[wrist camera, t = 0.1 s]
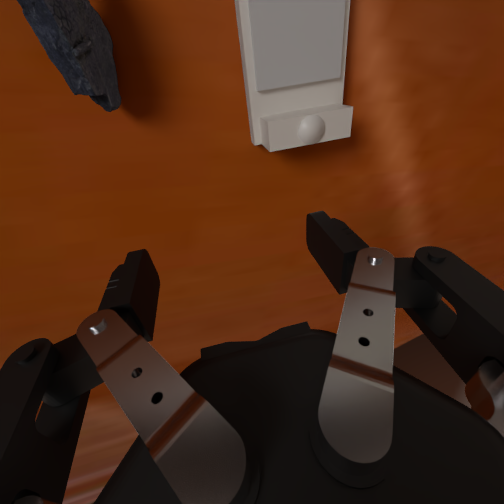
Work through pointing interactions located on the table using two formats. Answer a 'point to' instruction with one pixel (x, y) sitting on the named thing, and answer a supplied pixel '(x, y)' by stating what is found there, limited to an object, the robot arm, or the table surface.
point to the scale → (294, 70)
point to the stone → (77, 47)
